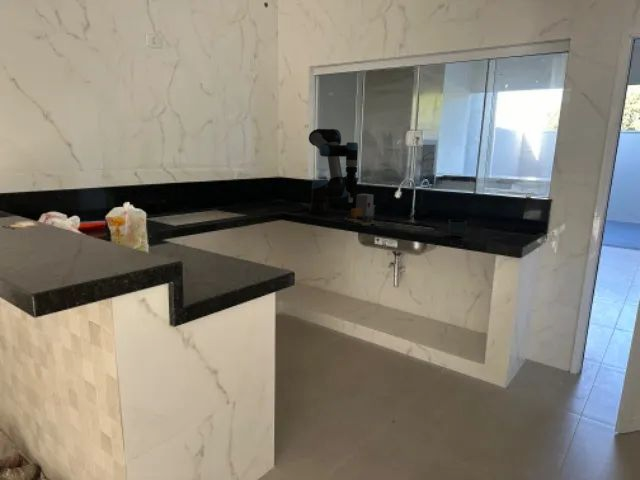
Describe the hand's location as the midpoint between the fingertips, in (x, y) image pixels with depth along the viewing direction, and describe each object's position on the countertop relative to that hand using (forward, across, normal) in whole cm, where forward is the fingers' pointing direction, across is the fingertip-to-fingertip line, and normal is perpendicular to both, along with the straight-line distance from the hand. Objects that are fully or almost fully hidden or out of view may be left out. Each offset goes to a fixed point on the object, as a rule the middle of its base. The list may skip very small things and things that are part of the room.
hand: (350, 202), depth 299 cm
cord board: (+11, +12, 0) cm, 17 cm away
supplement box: (+11, -6, +16) cm, 20 cm away
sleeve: (+9, +7, 0) cm, 12 cm away
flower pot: (+12, +70, +24) cm, 76 cm away
